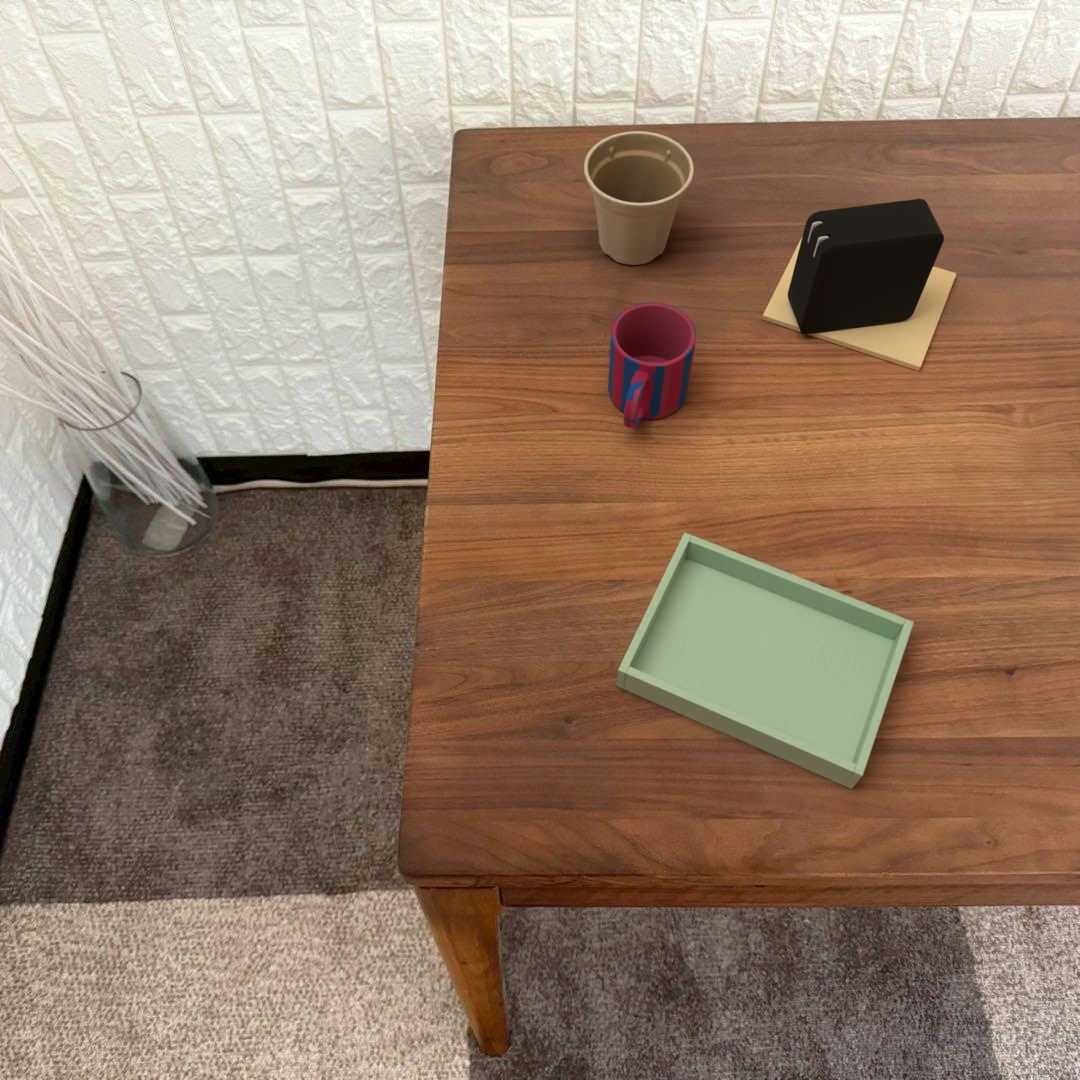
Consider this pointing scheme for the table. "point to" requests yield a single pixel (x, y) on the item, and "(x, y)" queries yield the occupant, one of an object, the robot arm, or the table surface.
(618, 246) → the flower pot
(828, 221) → the electronic device
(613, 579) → the table surface
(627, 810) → the table surface
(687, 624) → the tray
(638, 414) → the mug
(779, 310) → the cork mat
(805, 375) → the table surface
